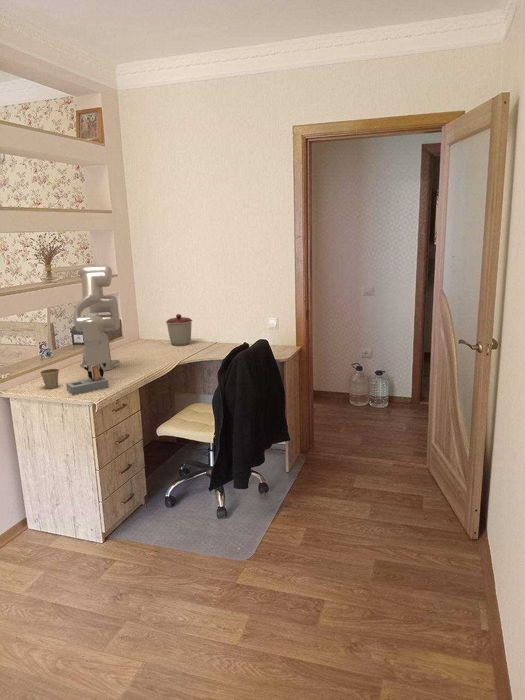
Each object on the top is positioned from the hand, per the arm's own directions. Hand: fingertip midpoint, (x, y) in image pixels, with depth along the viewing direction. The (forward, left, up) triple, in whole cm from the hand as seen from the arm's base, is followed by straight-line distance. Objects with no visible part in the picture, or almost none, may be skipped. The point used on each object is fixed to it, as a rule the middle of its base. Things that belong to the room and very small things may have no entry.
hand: (96, 377), depth 274 cm
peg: (0, 0, -5) cm, 5 cm away
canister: (-80, -58, -6) cm, 99 cm away
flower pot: (+18, -18, -6) cm, 26 cm away
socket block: (+5, 0, -5) cm, 7 cm away
